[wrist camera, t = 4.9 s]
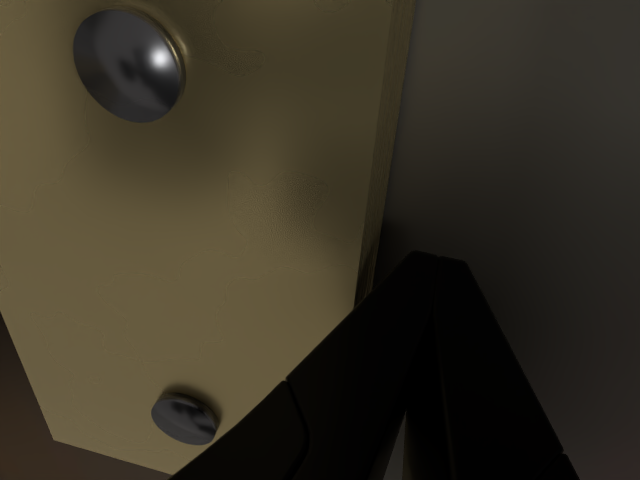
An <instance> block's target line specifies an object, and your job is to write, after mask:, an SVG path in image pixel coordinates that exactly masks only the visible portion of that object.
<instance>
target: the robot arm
mask: <svg viewBox="0 0 640 480" xmlns="http://www.w3.org/2000/svg"><path fill="white" fill-rule="evenodd" d="M406 408H407V409H406ZM405 412H406V424H405V441H404V458H403V476H402V480H580V479H579V477H578V475H577V473H576V471H575V469H574V467H573V466H572V464H571V462H570V460H569V458H568V456H567V455H566V454H562V453H563V451H564V450H563V447H562V445H561V443H560V441H559V439H558V437H557V435H556V433H555V431H554V429H553V428H552V426H551V424H550V422H549V420H548V418H547V416H546V414H545V412H544V410H543V408H542V406H541V405H540V403H539V401H538V399H537V397H536V395H535V393H534V391H533V389H532V387H531V385H530V383H529V382H528V380H527V378H526V376H525V374H524V372H523V370H522V368H521V366H520V364H519V362H518V360H517V359H516V357H515V355H514V353H513V351H512V349H511V347H510V345H509V343H508V341H507V339H506V337H505V335H504V334H503V332H502V330H501V328H500V326H499V324H498V322H497V320H496V318H495V316H494V314H493V312H492V311H491V309H490V307H489V305H488V303H487V301H486V299H485V297H484V295H483V293H482V291H481V289H480V288H479V286H478V284H477V282H476V280H475V278H474V276H473V274H472V272H471V270H470V268H469V266H468V265H467V263H466V262H465V261H462V260H458V259H453V258H448V257H444V256H440V257H438V256H437V255H434V254H430V253H425V252H420V251H411V252H410V253H409V254H408V255H407V256H406V257H405V258H404V259H403V260H402V261H401V262H400V263H399V264H398V265H397V266H396V267H395V268H394V269H393V270H392V271H391V272H390V273H389V274H388V275H387V276H386V277H385V278H384V279H383V280H382V281H381V282H380V283H379V284H378V285H377V286H376V287H375V288H374V289H373V290H372V291H371V292H370V293H369V294H368V295H367V296H366V297H365V298H364V299H363V300H362V301H361V302H360V303H359V304H358V305H357V306H356V307H355V308H354V309H353V310H352V311H351V312H350V313H349V314H348V315H347V316H346V317H345V318H344V319H343V320H342V321H341V322H340V323H339V324H338V325H337V326H336V327H335V328H334V329H333V330H332V331H331V332H330V333H329V334H328V335H327V336H326V337H325V338H324V339H323V340H322V341H321V342H320V343H319V344H318V345H317V346H316V347H315V348H314V349H313V350H312V351H311V352H310V353H309V354H308V355H307V356H306V357H305V358H304V359H303V360H302V361H301V362H300V363H299V364H298V365H297V366H296V367H295V368H294V369H293V370H292V371H291V372H290V373H289V374H288V375H287V376H286V378H285V381H284V380H283V381H281V382H280V383H279V384H278V385H277V386H276V387H275V388H274V389H273V390H272V391H271V392H270V393H269V394H268V395H267V396H266V397H265V398H264V399H263V400H262V401H261V402H260V403H259V404H257V405H256V406H255V407H254V408H253V409H252V410H251V411H250V412H249V413H248V414H247V415H246V416H245V417H244V418H242V419H241V420H240V421H239V422H238V423H237V424H236V425H235V426H234V427H232V428H231V429H230V430H229V431H227V432H226V433H225V434H224V435H223V436H221V437H220V438H219V439H218V440H216V441H215V442H214V443H213V444H212V445H210V446H209V447H208V448H207V449H206V450H204V451H203V452H202V453H201V454H199V455H198V456H197V457H195V458H194V459H193V460H191V461H190V462H189V463H188V464H186V465H185V466H184V467H182V468H181V469H180V470H179V471H177V472H176V473H175V474H173V475H172V476H171V477H170V478H168V479H167V480H383V478H384V475H385V472H386V469H387V466H388V463H389V460H390V457H391V454H392V451H393V448H394V445H395V442H396V439H397V436H398V433H399V430H400V427H401V424H402V421H403V418H404V415H405Z"/></svg>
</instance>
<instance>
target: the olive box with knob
mask: <svg viewBox="0 0 640 480" xmlns="http://www.w3.org/2000/svg"><path fill="white" fill-rule="evenodd" d="M415 3H416V0H0V312H1V314H2V316H3V319H4V321H5V324H6V326H7V328H8V331H9V333H10V336H11V338H12V341H13V343H14V345H15V348H16V350H17V353H18V355H19V357H20V360H21V362H22V365H23V367H24V369H25V372H26V374H27V377H28V379H29V381H30V384H31V386H32V389H33V391H34V394H35V396H36V398H37V401H38V403H39V406H40V408H41V410H42V413H43V415H44V418H45V420H46V422H47V425H48V427H49V430H50V432H51V434H52V437H53V439H54V440H56V441H59V442H62V443H66V444H69V445H73V446H76V447H80V448H83V449H86V450H90V451H93V452H97V453H100V454H103V455H107V456H110V457H114V458H117V459H120V460H124V461H127V462H131V463H134V464H138V465H141V466H144V467H148V468H151V469H155V470H158V471H161V472H165V473H168V474H172V475H173V474H175V473H176V472H177V471H179V470H180V469H181V468H182V467H184V466H185V465H186V464H188V463H189V462H190V461H191V460H193V459H194V458H195V457H197V456H198V455H199V454H201V453H202V452H203V451H204V450H206V449H207V448H208V447H209V446H210V445H212V444H213V443H214V442H215V441H216V440H218V439H219V438H220V437H221V436H223V435H224V434H225V433H226V432H227V431H229V430H230V429H231V428H232V427H234V426H235V425H236V424H237V423H238V422H239V421H240V420H241V419H242V418H244V417H245V416H246V415H247V414H248V413H249V412H250V411H251V410H252V409H253V408H254V407H255V406H256V405H257V404H259V403H260V402H261V401H262V400H263V399H264V398H265V397H266V396H267V395H268V394H269V393H270V392H271V391H272V390H273V389H274V388H275V387H276V386H277V385H278V384H279V383H280V382H281V381H283V380H284V381H285V378H286V376H287V375H288V374H289V373H290V372H291V371H292V370H293V369H294V368H295V367H296V366H297V365H298V364H299V363H300V362H301V361H302V360H303V359H304V358H305V357H306V356H307V355H308V354H309V353H310V352H311V351H312V350H313V349H314V348H315V347H316V346H317V345H318V344H319V343H320V342H321V341H322V340H323V339H324V338H325V337H326V336H327V335H328V334H329V333H330V332H331V331H332V330H333V329H334V328H335V327H336V326H337V325H338V324H339V323H340V322H341V321H342V320H343V319H344V318H345V317H346V316H347V315H348V314H349V313H350V312H351V311H352V310H353V309H354V308H355V307H356V306H357V305H358V304H359V303H360V302H361V301H362V300H363V299H364V298H365V297H366V296H367V295H368V294H369V293H370V292H371V291H372V286H373V279H374V272H375V266H376V259H377V253H378V246H379V240H380V233H381V226H382V220H383V213H384V207H385V200H386V194H387V187H388V180H389V174H390V167H391V161H392V154H393V148H394V141H395V135H396V128H397V121H398V115H399V108H400V102H401V95H402V89H403V82H404V75H405V69H406V62H407V56H408V49H409V43H410V36H411V29H412V23H413V16H414V10H415Z"/></svg>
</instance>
